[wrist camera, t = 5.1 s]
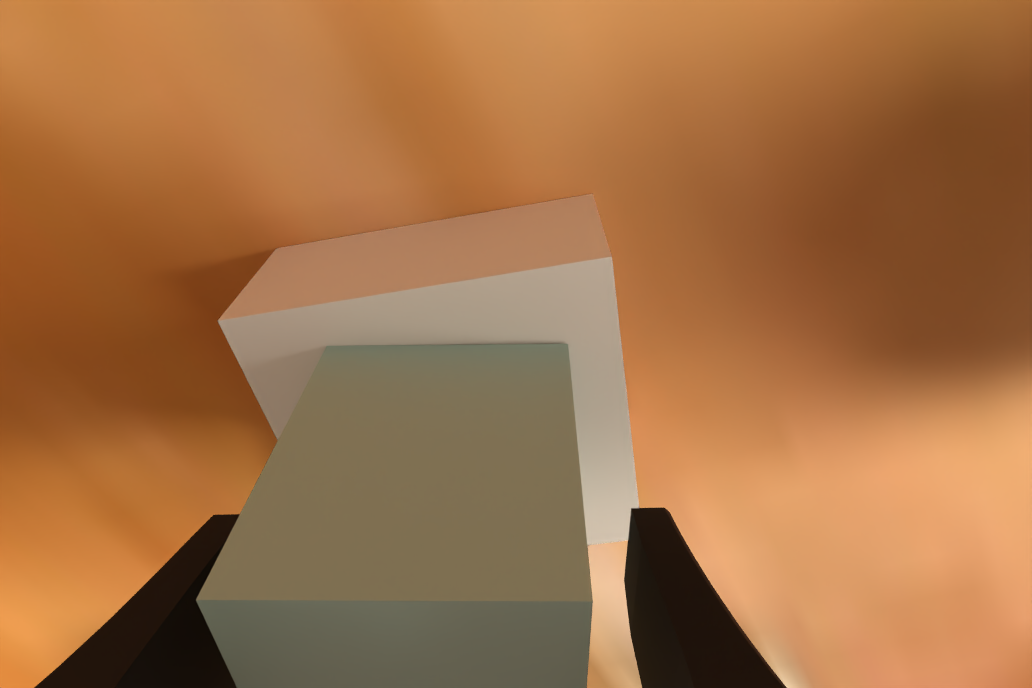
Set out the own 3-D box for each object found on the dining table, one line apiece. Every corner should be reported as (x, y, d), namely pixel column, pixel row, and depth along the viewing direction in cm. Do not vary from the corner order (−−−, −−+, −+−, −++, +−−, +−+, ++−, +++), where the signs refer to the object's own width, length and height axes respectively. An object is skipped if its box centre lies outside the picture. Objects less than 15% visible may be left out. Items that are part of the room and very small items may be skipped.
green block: (567, 344, 13) (593, 601, 8) (563, 514, 16) (578, 788, 10) (326, 345, 13) (195, 599, 8) (363, 514, 16) (282, 785, 11)
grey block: (591, 188, 15) (611, 256, 12) (621, 436, 19) (642, 538, 16) (281, 242, 16) (217, 320, 13) (373, 469, 20) (344, 573, 17)
